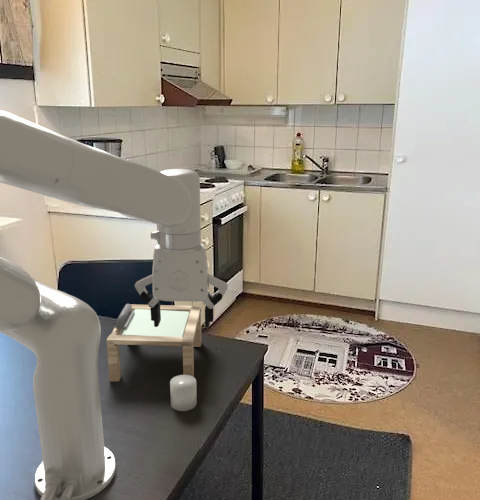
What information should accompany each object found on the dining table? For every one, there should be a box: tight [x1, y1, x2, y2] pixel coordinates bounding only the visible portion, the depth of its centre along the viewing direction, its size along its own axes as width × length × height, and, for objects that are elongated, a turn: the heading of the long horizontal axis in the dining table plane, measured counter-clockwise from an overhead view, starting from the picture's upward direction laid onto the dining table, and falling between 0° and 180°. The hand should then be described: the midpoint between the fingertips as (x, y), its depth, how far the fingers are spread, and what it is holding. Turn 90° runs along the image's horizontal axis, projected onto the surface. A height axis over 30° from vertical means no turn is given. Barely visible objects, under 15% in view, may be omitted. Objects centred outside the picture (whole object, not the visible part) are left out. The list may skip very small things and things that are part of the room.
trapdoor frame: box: [106, 303, 202, 382], centre depth 114 cm, size 18×18×10 cm
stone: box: [169, 374, 198, 412], centre depth 100 cm, size 5×5×5 cm
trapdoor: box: [114, 303, 190, 337], centre depth 113 cm, size 13×15×3 cm
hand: (182, 324), depth 95 cm, fingers open, 9 cm apart
